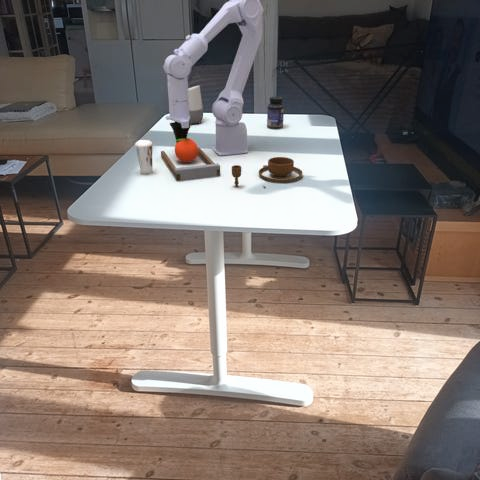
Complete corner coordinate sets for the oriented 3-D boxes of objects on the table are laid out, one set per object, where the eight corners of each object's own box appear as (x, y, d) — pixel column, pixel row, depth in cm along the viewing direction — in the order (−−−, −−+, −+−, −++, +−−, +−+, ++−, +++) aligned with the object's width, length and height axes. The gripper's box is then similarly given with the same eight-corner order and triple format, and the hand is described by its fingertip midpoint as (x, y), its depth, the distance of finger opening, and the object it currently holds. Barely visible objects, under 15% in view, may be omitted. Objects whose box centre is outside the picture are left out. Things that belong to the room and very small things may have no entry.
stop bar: (218, 173, 122) (217, 163, 121) (220, 176, 120) (220, 165, 119) (175, 178, 119) (174, 168, 117) (176, 181, 117) (176, 170, 115)
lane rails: (199, 153, 139) (198, 147, 138) (220, 176, 120) (220, 169, 120) (161, 157, 135) (160, 151, 134) (176, 181, 117) (176, 174, 116)
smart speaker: (182, 119, 180) (180, 83, 173) (205, 120, 179) (204, 84, 172) (177, 125, 171) (175, 87, 165) (201, 126, 171) (199, 88, 164)
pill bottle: (283, 129, 166) (285, 99, 161) (267, 129, 166) (268, 99, 161) (282, 125, 171) (283, 96, 166) (266, 125, 171) (267, 96, 166)
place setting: (309, 188, 114) (310, 166, 111) (231, 191, 112) (231, 169, 109) (295, 167, 129) (296, 147, 127) (226, 169, 128) (226, 149, 125)
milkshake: (159, 170, 125) (156, 134, 120) (149, 176, 120) (146, 139, 116) (145, 168, 126) (141, 133, 121) (135, 174, 122) (131, 138, 117)
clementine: (170, 165, 128) (168, 141, 125) (173, 158, 135) (171, 134, 131) (197, 165, 128) (196, 141, 125) (199, 158, 135) (198, 134, 131)
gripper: (160, 96, 132) (163, 141, 138) (170, 105, 120) (173, 154, 126) (183, 95, 134) (185, 139, 140) (195, 104, 122) (197, 152, 128)
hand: (181, 146), depth 133 cm, fingers closed
